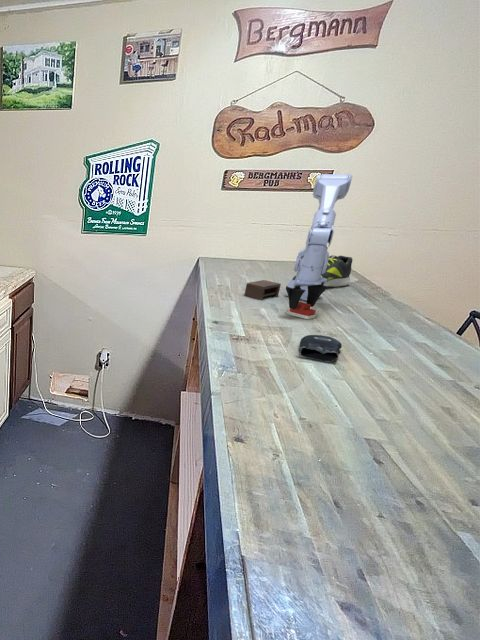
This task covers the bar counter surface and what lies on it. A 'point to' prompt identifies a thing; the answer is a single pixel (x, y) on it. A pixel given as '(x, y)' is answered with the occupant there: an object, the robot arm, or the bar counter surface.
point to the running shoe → (337, 271)
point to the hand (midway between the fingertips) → (301, 307)
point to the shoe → (302, 311)
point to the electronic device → (319, 348)
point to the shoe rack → (262, 289)
